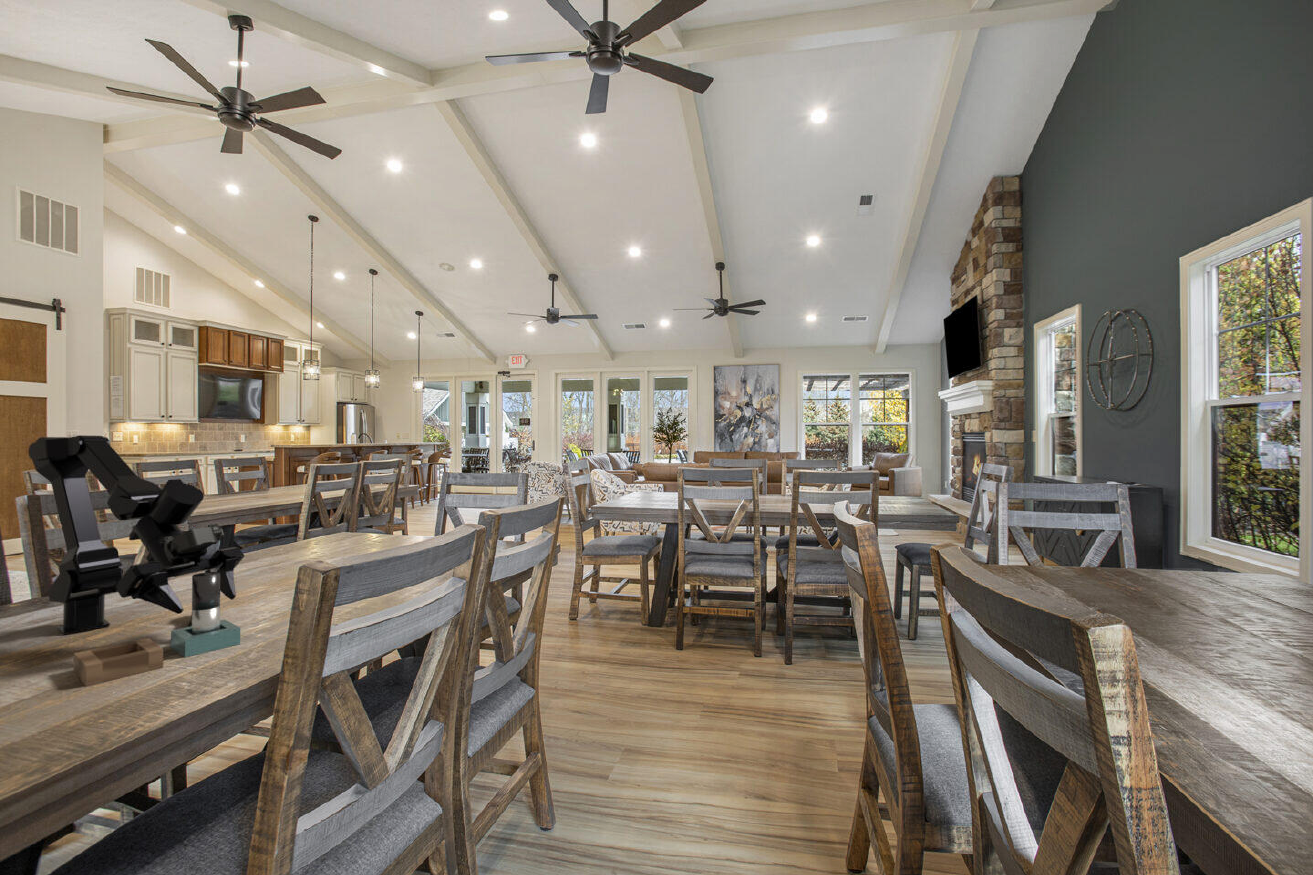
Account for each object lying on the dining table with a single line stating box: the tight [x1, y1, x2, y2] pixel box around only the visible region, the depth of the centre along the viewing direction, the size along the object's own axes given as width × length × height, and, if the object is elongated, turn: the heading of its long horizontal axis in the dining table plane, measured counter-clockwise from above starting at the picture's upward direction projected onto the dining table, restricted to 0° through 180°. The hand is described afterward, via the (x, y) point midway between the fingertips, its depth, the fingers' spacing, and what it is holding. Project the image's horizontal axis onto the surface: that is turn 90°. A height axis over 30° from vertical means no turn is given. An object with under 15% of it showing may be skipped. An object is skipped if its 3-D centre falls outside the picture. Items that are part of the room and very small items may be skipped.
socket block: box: [170, 619, 241, 658], centre depth 102 cm, size 8×8×3 cm
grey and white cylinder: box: [191, 571, 221, 636], centre depth 102 cm, size 4×4×13 cm
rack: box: [73, 637, 164, 687], centre depth 91 cm, size 9×9×3 cm
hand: (208, 604), depth 102 cm, fingers open, 9 cm apart
